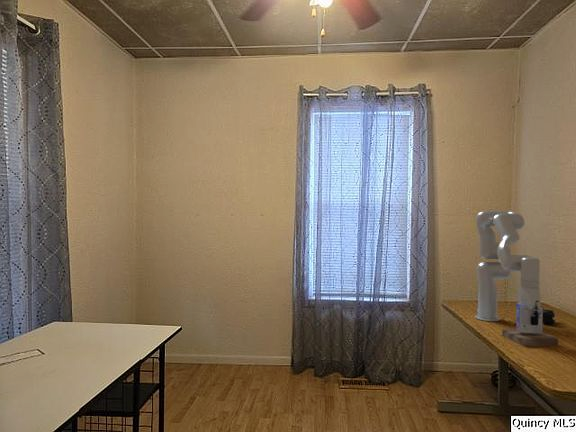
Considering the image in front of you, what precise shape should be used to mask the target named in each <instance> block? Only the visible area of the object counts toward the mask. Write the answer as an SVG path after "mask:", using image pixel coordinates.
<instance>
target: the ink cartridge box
mask: <svg viewBox="0 0 576 432" xmlns="http://www.w3.org/2000/svg"><path fill="white" fill-rule="evenodd" d="M541 308H542V310H543V306H542V305H541ZM534 309H536V308H534ZM535 312H536V311H534V313H535ZM542 315H543V311H542V312H541V314H540V315H539V317H538V325H531V316H532V313H531V310H528V309H526V305H523V304H518V303H516V329H517V330H518V331H519V332H536V333H542V332H543V323H542Z"/></svg>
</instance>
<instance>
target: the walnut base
mask: <svg viewBox="0 0 576 432" xmlns="http://www.w3.org/2000/svg"><path fill="white" fill-rule="evenodd" d="M502 337H505V338H507V339H509V340H511V341H513V342H514V343H517V344H518V345H520V346H523V347H546V346H547V347H549V346H550V347H553V346H554V347H555V346H559V338H557V337H555V336H552V335H550V334H547V333H545V332H543V331H542V333H536V332H519V331H518V330H517V328H511V329H510V328H508V329H507V328H505V329H502Z"/></svg>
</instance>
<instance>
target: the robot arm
mask: <svg viewBox="0 0 576 432" xmlns="http://www.w3.org/2000/svg"><path fill="white" fill-rule="evenodd" d="M475 224H476V229H477V232H478V251H479V252H478V253H479V256H480V257H481V258H482V259H484V260H498V261H482V262H479V263H478V264H477V266H476V275H477V280H478V281H477V283H478V284H477V285H478V290H477V291H478V295H477V296H478V298H477V299H478V301H477V302H478V303H477V304H478V305H477V309H476V312H477V314H475V316H474V318H475V319H477V320H479V321H485V322H499V321H501V317H500V316H499V315H498V286H497V284H496V282H495V281H494V280H507V279H509V278H510V277H511V275H512V272H513V271H514V272H515V271H516V272H517V271H518V272H519V271H520V285H519V287H518V293H517V303H516V304H523V305H526V309H528V310H531V313H532V316H531V325H538V317H539V315H540V314H541V312H542V311H543V310H542V308H541V306H542V305H541V300H542V299H541V291H540V267H541V266H540V263H541V262H540V259H539V258H538V257H534V256H533V257H532V256H531V255H527V254H512V251H511V247H510V246H512V245H514V244H516V243H517V242H518V241H519V240H520V235H519V233H518V230H521V229H523V228H524V226H525V219H524V217H523V215H522V214H521V213H519V212H513V211H510V210H509V211H508V210H484V211H480V212H478V214H477V215H476V217H475ZM492 227H495V230H496V232H497V234H498V237H499V239H500V241H497V237H496V232H495V231H494V229H493V228H492ZM534 308H536V309H534ZM534 311H536V312H535V313H534Z"/></svg>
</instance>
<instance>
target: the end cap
mask: <svg viewBox="0 0 576 432" xmlns="http://www.w3.org/2000/svg"><path fill="white" fill-rule="evenodd" d="M555 316H556V315H555V312H554V310H551V309H545V308H543V315H542V325H546V326H555V321H556V320H555V319H554V318H555Z"/></svg>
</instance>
